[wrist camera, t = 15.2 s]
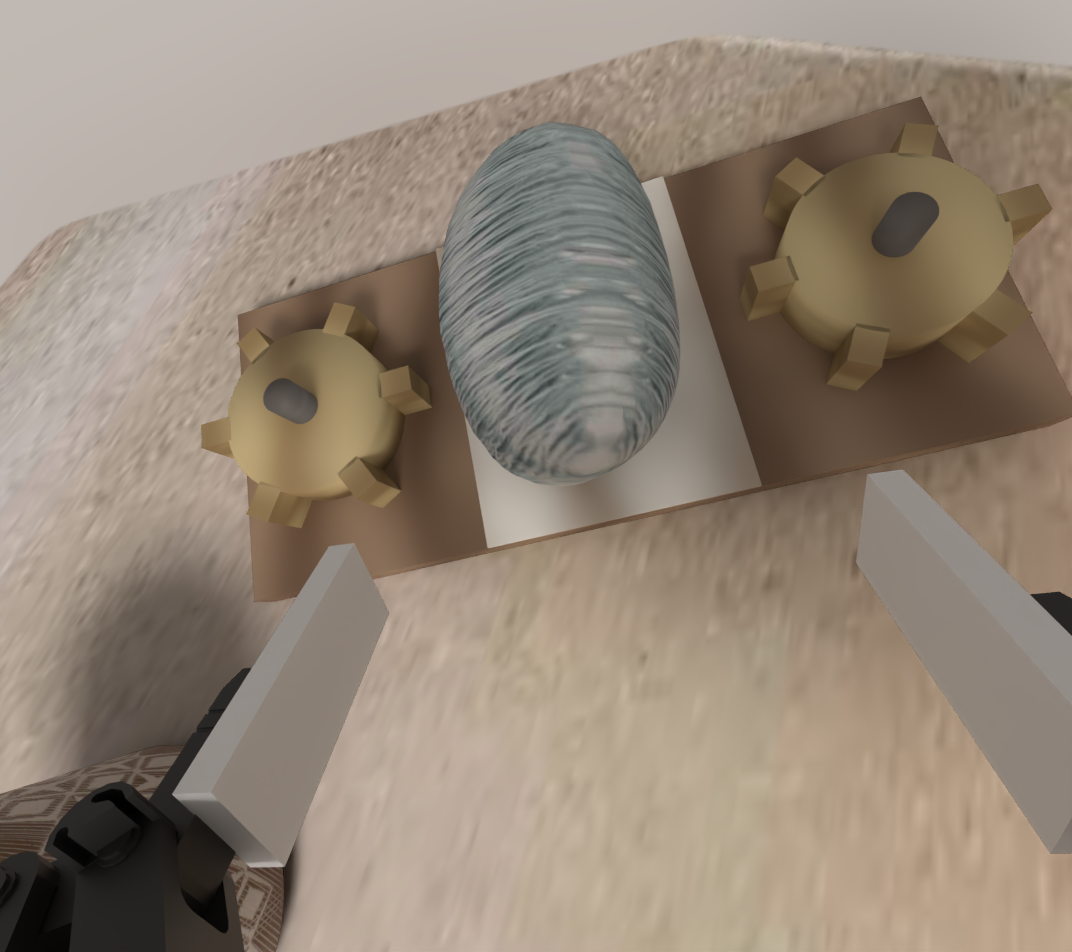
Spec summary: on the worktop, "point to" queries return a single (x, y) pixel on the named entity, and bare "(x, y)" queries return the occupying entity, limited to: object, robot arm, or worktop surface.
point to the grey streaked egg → (559, 307)
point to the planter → (39, 807)
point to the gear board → (705, 361)
